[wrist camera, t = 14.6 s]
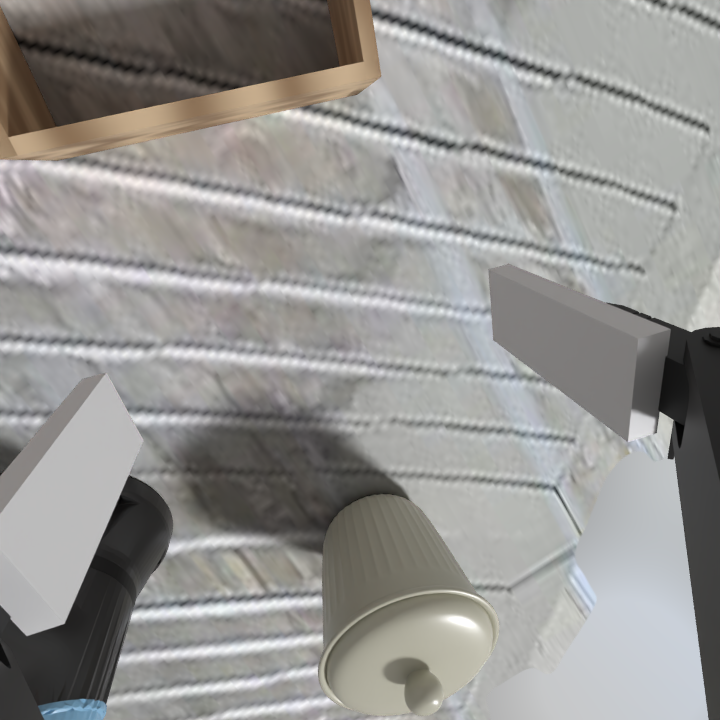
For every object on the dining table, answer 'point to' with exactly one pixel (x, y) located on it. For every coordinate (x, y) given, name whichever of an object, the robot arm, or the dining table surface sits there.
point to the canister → (397, 612)
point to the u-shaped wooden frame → (47, 142)
